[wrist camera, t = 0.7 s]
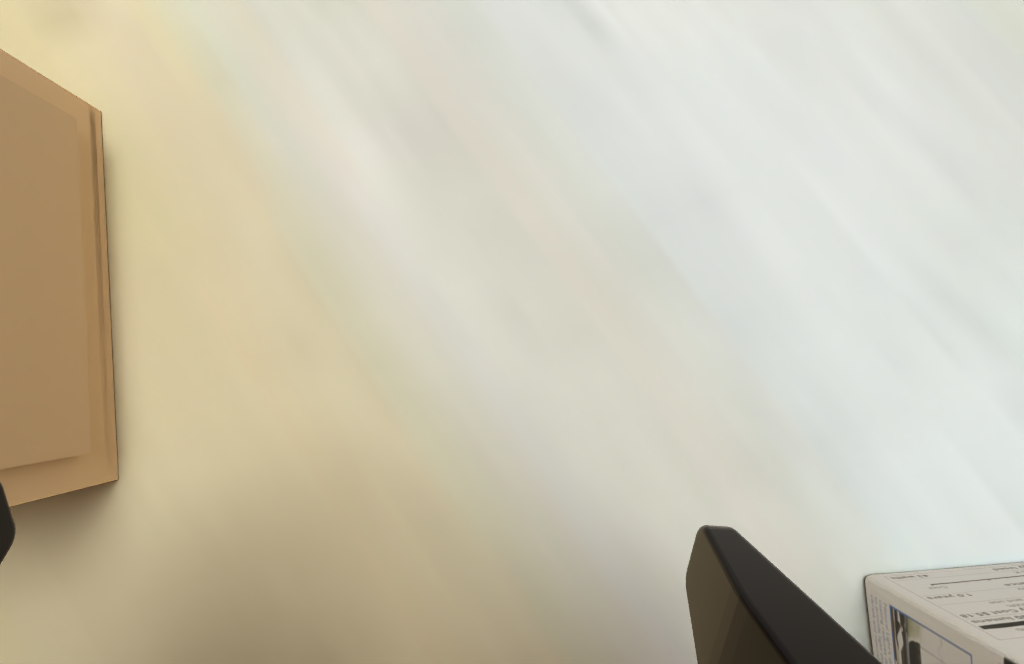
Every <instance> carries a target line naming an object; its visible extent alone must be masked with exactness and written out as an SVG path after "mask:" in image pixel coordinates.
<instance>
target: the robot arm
mask: <svg viewBox="0 0 1024 664" xmlns="http://www.w3.org/2000/svg"><path fill="white" fill-rule="evenodd" d="M14 536H15V523H14V520H13V517H12V514H11V510H10V507H9V504H8V501H7V497H6V494H5V491H4V488H3V485H2V483H1V482H0V564H1V562H2V561H3V559H4V557H5V556H6V554H7V552H8V551H9V549H10V547H11V545H12V543H13V540H14ZM686 591H687V597H688V604H689V610H690V617H691V623H692V629H693V636H694V642H695V648H696V655H697V661H698V664H882V663H881V662H880V661H879V660H878V659H877V658H876V657H875V656H873V655H872V654H871V653H870V652H869V651H868V650H867V649H866V648H865V647H864V646H862V645H861V644H860V643H859V642H858V641H857V640H856V639H855V638H854V637H853V636H851V635H850V634H849V633H848V632H847V631H846V630H845V629H844V628H843V627H842V626H840V625H839V624H838V623H837V622H836V621H835V620H834V619H833V618H832V617H830V616H829V615H828V614H827V613H826V612H825V611H824V610H823V609H822V608H821V607H819V606H818V605H817V604H816V603H815V602H814V601H813V600H812V599H811V598H810V597H808V596H807V595H806V594H805V593H804V592H803V591H802V590H801V589H800V588H799V587H797V586H796V585H795V584H794V583H793V582H792V581H791V580H790V579H789V578H788V577H786V576H785V575H784V574H783V573H782V572H781V571H780V570H779V569H778V568H777V567H775V566H774V565H773V564H772V563H771V562H770V561H769V560H768V559H767V558H766V557H764V556H763V555H762V554H761V553H760V552H759V551H758V550H757V549H756V548H755V547H753V546H752V545H751V544H750V543H749V542H748V541H747V540H746V539H745V538H744V537H742V536H741V535H740V534H739V533H738V532H737V531H736V530H734V529H733V528H730V527H724V526H709V525H704V526H702V527H700V529H699V530H698V532H697V534H696V538H695V542H694V546H693V549H692V553H691V557H690V561H689V565H688V568H687V573H686Z"/></svg>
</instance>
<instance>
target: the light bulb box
mask: <svg viewBox="0 0 1024 664" xmlns="http://www.w3.org/2000/svg"><path fill="white" fill-rule="evenodd" d="M865 585H866V594H867V604H868V612H869V621H870V629H871V637H872V646H873V654H874V656H875V657H876V658H877V659H878V660H879V661H880V662H881V663H882V664H1024V562H1021V563H1007V564H996V565H985V566H972V567H960V568H948V569H936V570H924V571H911V572H899V573H886V574H875V575H869V576H867V577H866V579H865Z"/></svg>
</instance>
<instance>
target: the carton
mask: <svg viewBox="0 0 1024 664" xmlns="http://www.w3.org/2000/svg"><path fill="white" fill-rule="evenodd" d="M114 480H118V464H117V443H116V422H115V401H114V380H113V359H112V338H111V317H110V296H109V275H108V254H107V233H106V212H105V191H104V169H103V148H102V127H101V111H99V110H98V109H96V108H94V107H93V106H91V105H90V104H88V103H86V102H85V101H83V100H82V99H80V98H78V97H77V96H75V95H74V94H72V93H70V92H69V91H67V90H66V89H64V88H62V87H61V86H59V85H58V84H56V83H54V82H53V81H51V80H50V79H48V78H46V77H45V76H43V75H42V74H40V73H38V72H37V71H35V70H33V69H32V68H30V67H29V66H27V65H25V64H24V63H22V62H21V61H19V60H17V59H16V58H14V57H13V56H11V55H9V54H8V53H6V52H5V51H3V50H1V49H0V482H1V483H2V485H3V488H4V491H5V494H6V497H7V501H8V504H9V507H11V506H15V505H19V504H23V503H27V502H31V501H35V500H39V499H43V498H47V497H51V496H55V495H59V494H62V493H66V492H70V491H74V490H78V489H82V488H86V487H90V486H94V485H98V484H102V483H106V482H110V481H114Z"/></svg>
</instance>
